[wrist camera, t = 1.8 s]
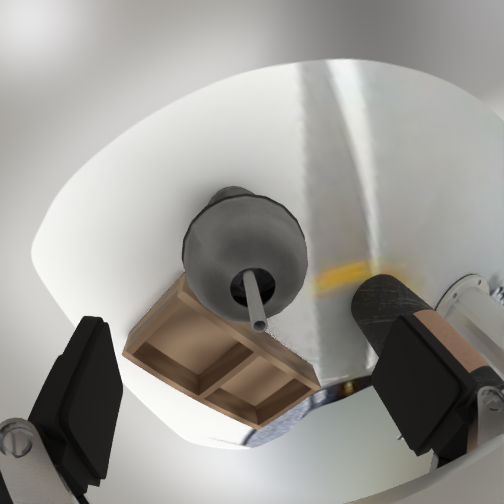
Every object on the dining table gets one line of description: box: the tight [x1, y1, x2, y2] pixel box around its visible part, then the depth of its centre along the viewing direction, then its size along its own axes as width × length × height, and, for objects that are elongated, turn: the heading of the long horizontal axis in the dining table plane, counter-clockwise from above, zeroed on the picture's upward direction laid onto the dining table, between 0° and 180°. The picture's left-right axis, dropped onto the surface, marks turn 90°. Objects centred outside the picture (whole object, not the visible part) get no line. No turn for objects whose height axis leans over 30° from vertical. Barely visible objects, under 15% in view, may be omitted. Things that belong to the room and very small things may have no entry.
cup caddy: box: [122, 273, 321, 430], centre depth 32 cm, size 20×11×4 cm, turn 45°
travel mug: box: [352, 275, 504, 394], centre depth 25 cm, size 8×8×20 cm
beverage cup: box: [182, 186, 308, 333], centre depth 19 cm, size 7×7×20 cm
